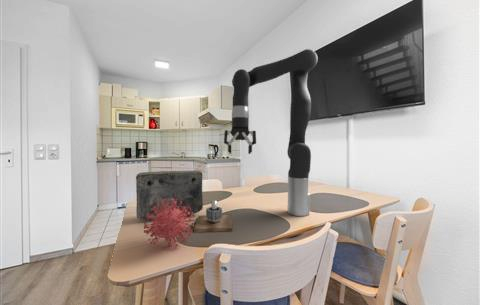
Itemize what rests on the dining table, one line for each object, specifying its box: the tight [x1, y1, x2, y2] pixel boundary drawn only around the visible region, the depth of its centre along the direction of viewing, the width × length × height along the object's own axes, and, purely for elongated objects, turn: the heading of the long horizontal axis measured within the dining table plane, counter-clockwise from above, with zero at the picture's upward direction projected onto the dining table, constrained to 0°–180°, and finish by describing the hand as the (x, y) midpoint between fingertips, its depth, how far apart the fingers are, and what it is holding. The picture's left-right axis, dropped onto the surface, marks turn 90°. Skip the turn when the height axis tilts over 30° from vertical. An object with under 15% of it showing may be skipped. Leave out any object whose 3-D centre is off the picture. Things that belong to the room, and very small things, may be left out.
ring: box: [205, 206, 223, 220], centre depth 81 cm, size 6×6×3 cm
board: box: [193, 214, 233, 233], centre depth 81 cm, size 14×14×1 cm
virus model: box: [143, 198, 195, 250], centre depth 63 cm, size 15×15×15 cm
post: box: [208, 199, 220, 224], centre depth 81 cm, size 5×5×8 cm
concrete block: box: [135, 169, 204, 220], centre depth 88 cm, size 27×9×20 cm, turn 110°
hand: (239, 153), depth 90 cm, fingers open, 8 cm apart
